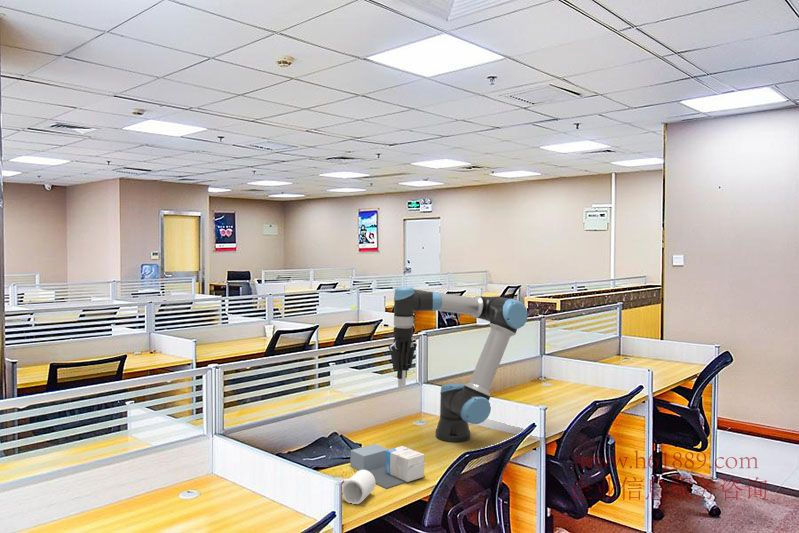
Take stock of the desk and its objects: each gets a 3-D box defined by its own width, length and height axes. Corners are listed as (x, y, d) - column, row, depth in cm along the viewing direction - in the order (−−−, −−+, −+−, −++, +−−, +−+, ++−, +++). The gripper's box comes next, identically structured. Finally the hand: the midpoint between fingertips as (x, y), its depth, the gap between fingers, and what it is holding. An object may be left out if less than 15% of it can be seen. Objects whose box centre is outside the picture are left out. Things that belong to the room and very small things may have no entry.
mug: (375, 494, 207) (376, 471, 207) (364, 506, 198) (364, 482, 197) (342, 489, 211) (342, 466, 211) (329, 500, 202) (330, 476, 201)
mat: (395, 463, 236) (395, 462, 236) (424, 476, 224) (424, 475, 224) (357, 474, 224) (357, 473, 224) (386, 489, 212) (386, 487, 212)
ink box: (384, 472, 225) (410, 484, 215) (385, 450, 225) (410, 460, 215) (402, 467, 231) (427, 478, 221) (402, 445, 231) (428, 455, 221)
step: (375, 459, 240) (375, 443, 240) (388, 465, 234) (389, 449, 234) (350, 466, 232) (350, 450, 232) (363, 472, 226) (363, 456, 226)
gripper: (409, 324, 249) (407, 382, 250) (384, 326, 241) (382, 387, 242) (422, 326, 243) (420, 386, 245) (396, 329, 235) (395, 391, 236)
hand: (401, 386), depth 243 cm, fingers closed
